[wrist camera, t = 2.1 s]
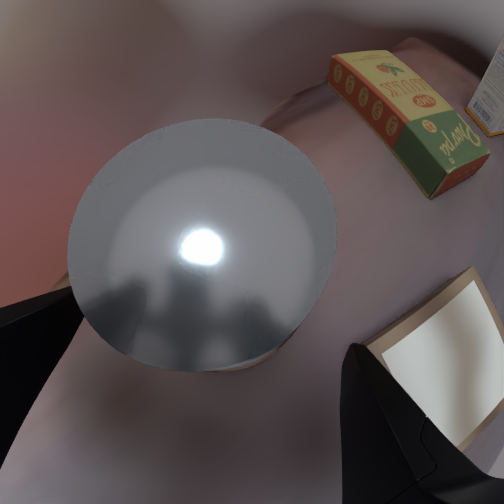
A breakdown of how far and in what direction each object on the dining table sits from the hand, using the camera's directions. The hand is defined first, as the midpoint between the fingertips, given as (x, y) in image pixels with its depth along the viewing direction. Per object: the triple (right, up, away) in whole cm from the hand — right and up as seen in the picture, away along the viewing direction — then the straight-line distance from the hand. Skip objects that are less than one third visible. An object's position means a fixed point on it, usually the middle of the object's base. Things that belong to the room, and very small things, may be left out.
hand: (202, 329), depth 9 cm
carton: (+16, +15, +16) cm, 27 cm away
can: (+1, -2, +9) cm, 9 cm away
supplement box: (+32, +19, +17) cm, 41 cm away
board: (+14, -6, +7) cm, 17 cm away
